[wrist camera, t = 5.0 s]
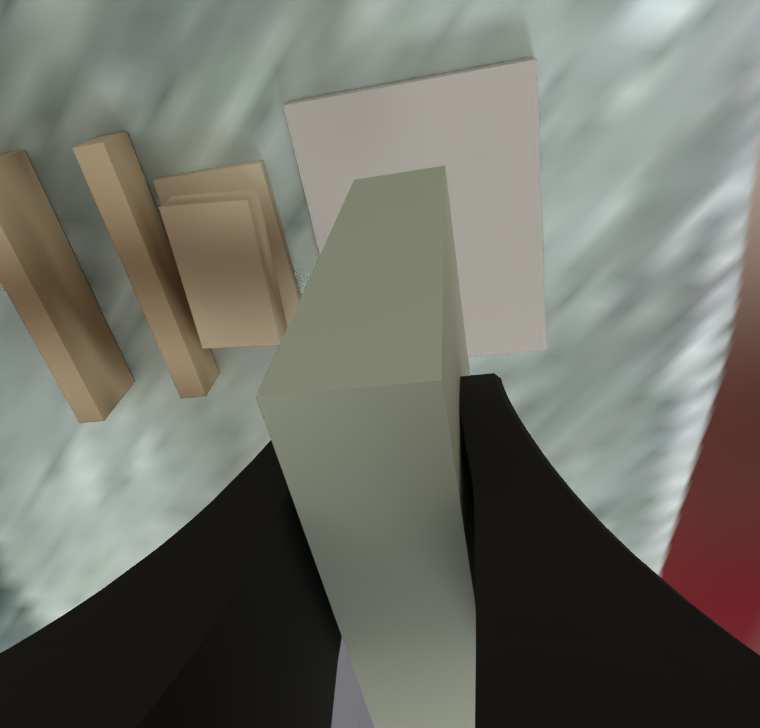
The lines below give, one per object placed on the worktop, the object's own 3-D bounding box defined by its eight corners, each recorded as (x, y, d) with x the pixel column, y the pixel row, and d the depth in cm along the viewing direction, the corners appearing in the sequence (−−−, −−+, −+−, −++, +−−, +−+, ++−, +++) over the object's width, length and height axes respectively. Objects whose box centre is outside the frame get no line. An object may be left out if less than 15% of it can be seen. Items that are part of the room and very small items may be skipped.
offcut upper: (287, 329, 21) (280, 344, 20) (213, 333, 22) (202, 348, 21) (257, 189, 19) (247, 199, 18) (173, 196, 19) (158, 207, 18)
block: (475, 420, 16) (494, 729, 10) (403, 426, 17) (374, 727, 10) (445, 165, 13) (441, 380, 6) (353, 180, 13) (256, 396, 6)
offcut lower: (313, 318, 22) (307, 333, 21) (222, 329, 23) (213, 343, 22) (269, 153, 19) (260, 162, 18) (165, 171, 20) (152, 180, 19)
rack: (219, 373, 23) (196, 412, 21) (112, 384, 24) (79, 423, 22) (126, 130, 18) (84, 150, 16) (-3, 154, 19) (-59, 176, 17)
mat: (544, 340, 21) (546, 349, 20) (350, 360, 22) (347, 369, 22) (533, 56, 16) (536, 59, 16) (288, 101, 17) (282, 105, 17)
